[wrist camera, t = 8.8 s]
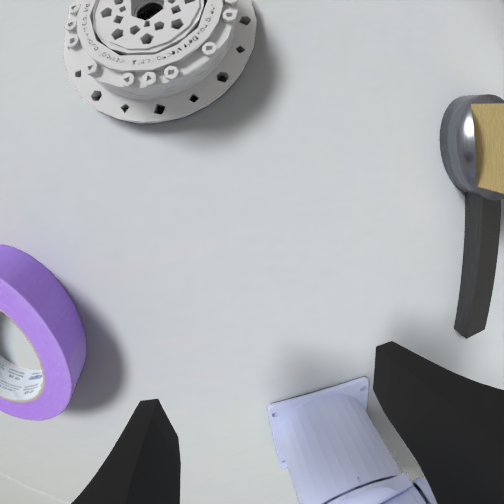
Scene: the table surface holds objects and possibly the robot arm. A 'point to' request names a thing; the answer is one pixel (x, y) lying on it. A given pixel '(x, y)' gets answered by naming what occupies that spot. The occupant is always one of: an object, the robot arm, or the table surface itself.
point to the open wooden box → (489, 145)
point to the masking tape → (39, 338)
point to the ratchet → (472, 214)
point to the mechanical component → (156, 54)
